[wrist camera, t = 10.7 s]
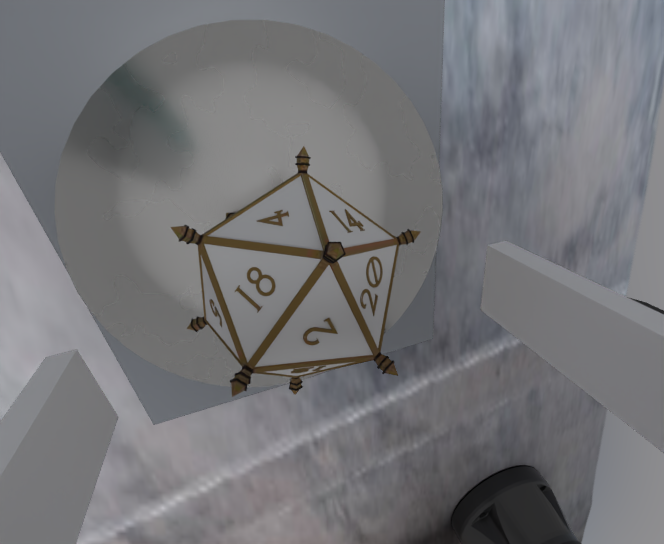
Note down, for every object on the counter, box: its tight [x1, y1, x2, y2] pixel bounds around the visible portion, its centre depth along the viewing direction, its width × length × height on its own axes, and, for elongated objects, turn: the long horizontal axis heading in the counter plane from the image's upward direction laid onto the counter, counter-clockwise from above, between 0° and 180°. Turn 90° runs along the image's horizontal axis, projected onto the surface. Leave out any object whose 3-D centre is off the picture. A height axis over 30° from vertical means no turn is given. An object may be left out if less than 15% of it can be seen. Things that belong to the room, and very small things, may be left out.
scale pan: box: [54, 20, 443, 387], centre depth 17 cm, size 18×18×2 cm
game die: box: [171, 146, 421, 397], centre depth 13 cm, size 9×8×10 cm
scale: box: [0, 0, 445, 425], centre depth 20 cm, size 23×20×4 cm
